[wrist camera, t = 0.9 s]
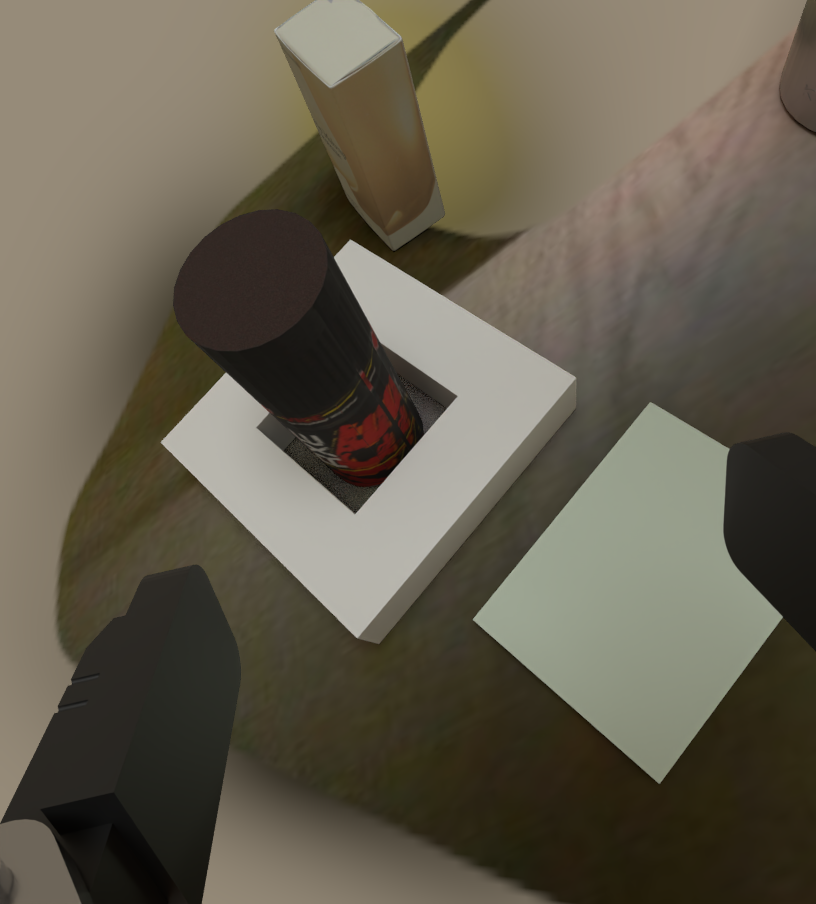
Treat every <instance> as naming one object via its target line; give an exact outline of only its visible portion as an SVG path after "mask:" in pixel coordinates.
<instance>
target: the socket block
mask: <svg viewBox="0 0 816 904" xmlns="http://www.w3.org/2000/svg"><path fill="white" fill-rule="evenodd" d="M334 259H335V261H336V262H337V264H338V266H339V268H340V270H341V272H342V273H343V275H344V277H345V279H346V281H347V283H348V284H349V286H350V288H351V290H352V292H353V294H354V295H355V297H356V299H357V301H358V303H359V305H360V306H361V308H362V310H363V312H364V314H365V316H366V317H367V319H368V321H369V323H370V325H371V327H372V328H373V330H374V332H375V334H376V336H377V338H378V339H379V341H380V343H381V345H382V347H383V349H384V350H385V352H386V354H387V356H388V358H389V360H390V361H391V363H392V365H393V367H394V369H395V371H396V372H397V373H398V374H399V375H401V376H402V377H403V378H405V379H406V380H408V381H409V382H410V383H412V384H413V385H415V386H416V387H417V388H419V389H420V390H422V391H423V392H424V393H426V394H427V395H429V396H430V397H431V398H433V399H434V400H436V401H437V402H439V403H440V404H441V405H443V406H444V407H446V408H447V409H446V410H445V412H444V413H443V414H442V415H441V416H440V417H439V419H438V420H437V421H436V422H435V423H434V424H433V425H432V427H431V428H430V429H429V430H428V431H427V432H426V434H425V435H424V436H423V437H422V438H421V439H420V440H419V442H418V443H417V444H416V445H415V446H414V447H413V448H412V450H411V451H410V452H409V453H408V454H407V455H406V457H405V458H404V459H403V460H402V461H401V462H400V463H399V465H398V466H397V467H396V468H395V469H394V470H393V472H392V473H391V474H390V475H389V476H388V477H387V478H386V480H385V481H384V482H383V483H382V484H381V485H380V487H379V488H378V489H377V490H376V491H375V492H374V493H373V495H372V496H371V497H370V498H369V499H368V500H367V501H366V503H365V504H364V505H363V506H362V507H361V508H360V510H359V511H358V512H357V513H356V514H355V513H354V512H353V511H352V510H351V509H349V508H348V507H347V506H346V505H345V504H344V503H343V502H341V501H340V500H339V499H338V498H337V497H336V496H335V495H334V494H332V493H331V492H330V491H329V490H328V489H327V488H326V487H324V486H323V485H322V484H321V483H320V482H319V481H318V480H316V479H315V478H314V477H313V476H312V475H311V474H310V473H308V472H307V471H306V470H305V469H304V468H303V467H302V466H300V465H299V464H298V463H297V462H296V461H295V460H294V459H292V458H291V457H290V456H289V455H288V454H287V453H286V452H284V450H285V449H286V448H287V446H288V445H289V444H290V443H291V442H292V441H293V440H294V439H295V438H296V437H295V436H294V435H293V434H292V433H291V432H290V431H289V430H288V429H287V428H285V427H284V426H283V425H282V424H281V423H280V422H279V421H278V420H277V419H276V418H275V417H274V416H273V415H271V414H270V413H269V412H268V411H267V410H266V409H265V408H264V407H263V406H262V405H261V404H260V403H259V402H257V401H256V400H255V399H254V398H253V397H252V396H251V395H250V394H249V393H248V392H247V391H246V390H245V389H243V388H242V387H241V386H240V385H239V384H238V383H237V382H236V381H235V380H234V379H233V378H232V377H231V376H229V375H228V374H227V373H225V374H224V375H223V376H222V377H221V379H220V380H219V381H218V382H217V383H216V384H215V385H214V386H213V387H212V388H211V389H210V390H209V391H208V392H207V394H206V395H205V396H204V397H203V398H202V399H201V400H200V401H199V402H198V403H197V404H196V405H195V406H194V407H193V408H192V410H191V411H190V412H189V413H188V414H187V415H186V416H185V417H184V418H183V419H182V420H181V421H180V422H179V423H178V425H177V426H176V427H175V428H174V429H173V430H172V431H171V432H170V433H169V434H168V435H167V436H166V437H165V438H164V439H163V441H162V442H161V443H162V444H163V445H164V446H165V447H166V448H167V449H168V450H169V451H170V452H171V453H172V454H173V455H174V456H175V457H176V458H177V459H178V460H179V461H180V462H181V463H182V464H183V465H184V466H185V467H186V468H187V469H188V470H189V471H190V472H191V473H192V474H193V475H194V476H195V477H196V478H197V479H198V480H199V481H200V482H201V483H202V484H203V485H204V486H205V487H206V488H207V489H208V490H209V491H210V492H211V493H212V494H213V495H214V496H215V497H216V498H217V499H218V500H219V501H220V502H221V503H222V504H223V505H224V506H225V507H226V508H227V509H228V510H229V511H230V512H231V513H232V514H233V515H234V516H235V517H236V518H237V519H238V520H239V521H240V522H241V523H242V524H243V525H244V526H245V527H246V528H247V529H248V530H249V531H250V532H251V533H252V534H253V535H254V536H255V537H256V538H257V539H258V540H259V541H260V542H261V543H262V544H263V545H264V546H265V547H266V548H267V549H268V550H269V551H270V552H271V553H272V554H273V555H274V556H275V557H276V558H277V559H278V560H279V561H280V562H281V563H282V564H283V565H284V566H285V567H286V568H287V569H288V570H289V571H290V572H291V573H292V574H293V575H294V576H295V577H296V578H297V579H298V580H299V581H300V582H301V583H302V584H303V585H304V586H305V587H306V588H307V589H308V590H309V591H310V592H311V593H312V594H313V595H314V596H315V597H316V598H317V599H318V600H319V601H320V602H321V603H322V604H323V605H324V606H325V607H326V608H327V609H328V610H329V611H330V612H331V613H332V614H333V615H334V616H335V617H336V618H337V619H338V620H339V621H340V622H341V623H342V624H343V625H344V626H345V627H346V628H347V629H348V630H349V631H350V632H351V633H352V634H353V635H354V636H355V637H356V638H357V639H361V640H365V641H369V642H373V643H377V644H380V643H381V641H382V640H383V639H384V638H385V637H386V635H387V634H388V633H389V632H390V631H391V629H392V628H393V627H394V626H395V625H396V623H397V622H398V621H399V620H400V619H401V617H402V616H403V615H404V614H405V613H406V611H407V610H408V609H409V608H410V607H411V605H412V604H413V603H414V602H415V601H416V599H417V598H418V597H419V596H420V595H421V593H422V592H423V591H424V590H425V589H426V587H427V586H428V585H429V584H430V583H431V581H432V580H433V579H434V578H435V577H436V575H437V574H438V573H439V572H440V571H441V569H442V568H443V567H444V566H445V565H446V563H447V562H448V561H449V560H450V559H451V557H452V556H453V555H454V554H455V553H456V551H457V550H458V549H459V548H460V547H461V545H462V544H463V543H464V542H465V541H466V539H467V538H468V537H469V536H470V535H471V533H472V532H473V531H474V530H475V529H476V527H477V526H478V525H479V524H480V523H481V521H482V520H483V519H484V518H485V517H486V515H487V514H488V513H489V512H490V511H491V509H492V508H493V507H494V506H495V505H496V503H497V502H498V501H499V500H500V499H501V497H502V496H503V495H504V494H505V493H506V491H507V490H508V489H509V488H510V487H511V485H512V484H513V483H514V482H515V481H516V479H517V478H518V477H519V476H520V475H521V473H522V472H523V471H524V470H525V469H526V467H527V466H528V465H529V464H530V463H531V461H532V460H533V459H534V458H535V457H536V455H537V454H538V453H539V452H540V451H541V449H542V448H543V447H544V446H545V445H546V443H547V442H548V441H549V440H550V439H551V437H552V436H553V435H554V434H555V433H556V431H557V430H558V429H559V428H560V427H561V426H562V424H563V423H564V422H565V421H566V420H567V418H568V417H569V416H570V415H571V414H572V412H573V411H574V410H575V409H576V377H574V376H573V375H571V374H569V373H568V372H566V371H565V370H563V369H561V368H560V367H558V366H556V365H555V364H553V363H551V362H550V361H548V360H547V359H545V358H543V357H542V356H540V355H538V354H537V353H535V352H533V351H532V350H530V349H529V348H527V347H525V346H524V345H522V344H520V343H519V342H517V341H516V340H514V339H512V338H511V337H509V336H507V335H506V334H504V333H502V332H501V331H499V330H498V329H496V328H494V327H493V326H491V325H489V324H488V323H486V322H484V321H483V320H481V319H480V318H478V317H476V316H475V315H473V314H471V313H470V312H468V311H466V310H465V309H463V308H462V307H460V306H458V305H457V304H455V303H453V302H452V301H450V300H448V299H447V298H445V297H444V296H442V295H440V294H439V293H437V292H435V291H434V290H432V289H430V288H429V287H427V286H426V285H424V284H422V283H421V282H419V281H417V280H416V279H414V278H412V277H411V276H409V275H408V274H406V273H404V272H403V271H401V270H399V269H398V268H396V267H394V266H393V265H391V264H390V263H388V262H386V261H385V260H383V259H381V258H380V257H378V256H376V255H375V254H373V253H372V252H370V251H368V250H367V249H365V248H363V247H362V246H360V245H358V244H357V243H355V242H354V241H352V240H350V241H349V242H348V243H347V244H346V245H345V246H344V247H343V248H342V249H341V250H340V251H339V252H338V253H337V255H336V256H335V257H334Z"/></svg>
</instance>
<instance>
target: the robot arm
mask: <svg viewBox="0 0 816 904" xmlns="http://www.w3.org/2000/svg"><path fill="white" fill-rule="evenodd" d="M780 93H781V99H782V101H783V103H784V105H785V107H786V109H787V110H788V112H789V113H790V114H791V115H792V116H793V117H794V118H795V120H797V121H798V122H799V123H801V124H802V125H804V126H805V127H806V128H808V129H810V130H812V131H814V132H816V0H807V2H806V5H805V8H804V10H803V13H802V16H801V19H800V22H799V25H798V28H797V31H796V34H795V37H794V40H793V43H792V46H791V49H790V51H789V54H788V57H787V60H786V63H785V66H784V69H783V72H782V76H781V81H780ZM723 534H724V540H725V544H726V548H727V550H728V553H729V555H730V557H731V559H732V561H733V563H734V564H735V566H736V567H737V569H738V570H739V571H740V572H741V573H742V574H743V575H744V576H745V577H746V579H747V580H748V581H749V582H750V583H751V584H752V585H753V586H754V587H755V588H756V589H757V590H758V591H759V592H760V593H761V594H762V595H763V596H764V597H765V598H766V600H767V601H768V602H769V603H770V604H771V605H772V606H773V607H774V608H775V609H776V610H777V611H778V612H779V613H780V614H781V615H782V616H783V617H784V618H785V620H786V621H787V622H788V623H789V624H790V625H791V626H792V627H793V628H794V629H795V630H796V631H797V632H798V633H799V634H800V635H801V636H802V637H803V638H804V640H805V641H806V642H807V643H808V644H809V645H810V646H811V647H812V648H813V649H814V650H815V651H816V447H814V446H813V445H811V444H810V443H808V442H806V441H805V440H803V439H802V438H800V437H798V436H797V435H795V434H793V433H781V434H776V435H772V436H767V437H763V438H759V439H754V440H750V441H745V442H741V443H737V444H734V445H733V446H732V447H731V448H730V450H729V452H728V456H727V465H726V484H725V504H724V523H723ZM240 680H241V665H240V657H239V651H238V647H237V644H236V641H235V638H234V636H233V633H232V631H231V629H230V627H229V624H228V622H227V620H226V618H225V615H224V613H223V611H222V608H221V606H220V604H219V602H218V599H217V597H216V595H215V593H214V590H213V588H212V586H211V584H210V581H209V579H208V577H207V575H206V573H205V571H204V570H203V569H202V568H201V567H200V566H199V565H192V566H187V567H183V568H178V569H174V570H169V571H165V572H161V573H156V574H152V575H147V576H145V577H144V578H143V579H142V580H141V582H140V584H139V586H138V589H137V591H136V593H135V595H134V598H133V600H132V602H131V604H130V607H129V609H128V611H127V613H126V616H122V617H117V618H114V619H113V620H112V621H111V622H110V623H109V624H108V625H107V626H106V627H105V628H104V629H103V631H102V632H101V633H100V634H99V635H98V636H97V637H96V638H95V639H94V640H93V641H92V643H91V644H90V645H89V646H88V647H87V648H86V650H85V652H84V654H83V656H82V658H81V660H80V662H79V664H78V666H77V668H76V670H75V672H74V674H73V677H72V679H71V681H72V685H70V686H68V687H67V689H66V691H65V693H64V695H63V697H62V699H61V701H60V703H59V705H58V709H59V711H58V713H55V714H54V715H53V717H52V719H51V721H50V723H49V725H48V727H47V729H46V731H45V733H44V735H43V737H42V740H41V741H40V743H39V746H38V748H37V750H36V752H35V754H34V756H33V758H32V760H31V762H30V764H29V766H28V768H27V770H26V772H25V774H24V776H23V778H22V780H21V782H20V784H19V786H18V788H17V790H16V792H15V794H14V796H13V798H12V801H11V802H10V805H9V806H8V808H7V811H6V813H5V815H4V817H3V819H2V821H1V823H0V904H202V898H203V893H204V887H205V881H206V876H207V870H208V864H209V858H210V853H211V847H212V841H213V836H214V830H215V824H216V818H217V813H218V806H219V801H220V795H221V790H222V784H223V778H224V773H225V767H226V761H227V755H228V750H229V744H230V738H231V732H232V727H233V721H234V715H235V710H236V704H237V698H238V692H239V687H240Z"/></svg>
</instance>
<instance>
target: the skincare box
mask: <svg viewBox="0 0 816 904" xmlns="http://www.w3.org/2000/svg"><path fill="white" fill-rule="evenodd" d="M274 31H275V34H276V37H277V39H278V41H279V43H280V45H281V47H282V50H283V52H284V54H285V56H286V58H287V61H288V63H289V65H290V68H291V70H292V72H293V74H294V77H295V79H296V81H297V83H298V86H299V88H300V90H301V92H302V95H303V97H304V99H305V102H306V104H307V106H308V109H309V111H310V113H311V115H312V118H313V120H314V122H315V125H316V127H317V129H318V132H319V134H320V136H321V138H322V141H323V143H324V145H325V147H326V150H327V152H328V154H329V156H330V159H331V161H332V163H333V166H334V168H335V170H336V172H337V175H338V177H339V179H340V182H341V184H342V186H343V189H344V191H345V193H346V196H347V198H348V200H349V201H350V203H351V204H352V205H353V207H354V208H355V209H356V210H357V212H358V213H359V214H360V215H361V216H362V218H363V219H364V220H365V221H366V222H367V224H368V225H369V226H370V227H371V228H372V229H373V230H374V231H375V232H376V233H377V235H378V236H379V237H380V238H381V239H382V240H383V241H384V242H385V243H386V244H387V245H388V246H389V247H390V248H391V249H392V250H393V251H395V250H397V249H398V248H399V247H401V246H402V245H404V244H405V243H407V242H408V241H410V240H411V239H413V238H414V237H416V236H417V235H419V234H420V233H422V232H423V231H424V230H426V229H427V228H429V227H430V226H431V225H433V224H434V223H436V222H437V221H438V220H440V219H441V218H443V217H444V215H445V212H444V207H443V203H442V199H441V195H440V191H439V187H438V183H437V179H436V175H435V171H434V167H433V163H432V159H431V154H430V151H429V146H428V142H427V138H426V134H425V130H424V126H423V121H422V118H421V113H420V109H419V105H418V101H417V97H416V93H415V89H414V85H413V81H412V77H411V72H410V68H409V64H408V60H407V56H406V52H405V48H404V44H403V40H402V37H401V36H400V35H399V34H398V33H396V32H395V31H394V30H393V29H392V28H391V27H390V26H388V25H387V24H386V23H385V22H384V21H383V20H381V19H380V18H379V17H378V16H377V15H376V14H375V13H374V12H373V11H372V10H371V9H370V8H368V7H367V6H366V5H364V4H363V3H362V2H361V1H359V0H315V1H314V2H312V3H311V4H309V5H308V6H307V7H305V8H304V9H302V10H301V11H299V12H298V13H297V14H295V15H294V16H292V17H291V18H289V19H288V20H287V21H286V22H285V23H283V24H282V25H280V26H279V27H277V28H276V29H275V30H274Z"/></svg>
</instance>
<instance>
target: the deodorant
mask: <svg viewBox="0 0 816 904" xmlns="http://www.w3.org/2000/svg"><path fill="white" fill-rule="evenodd" d="M173 306H174V311H175V315H176V319H177V322H178V323H179V325H180V327H181V328H182V330H183V331H184V333H185V334H186V336H187V337H189V338H190V339H191V340H192V341H193V342H194V343H195V344H196V345H197V346H198V347H199V348H200V349H201V350H203V351H204V352H205V353H206V354H207V355H208V356H209V357H210V358H211V359H212V360H213V361H214V362H215V363H217V364H218V365H219V366H220V367H221V368H222V369H223V370H224V371H225V372H226V373H227V374H228V375H229V376H231V377H232V378H233V379H234V380H235V381H236V382H237V383H238V384H239V385H240V386H241V387H242V388H243V389H245V390H246V391H247V392H248V393H249V394H250V395H251V396H252V397H253V398H254V399H255V400H256V401H257V402H259V403H260V404H261V405H262V406H263V407H264V408H265V409H266V410H267V411H268V412H269V413H270V414H271V415H273V416H274V417H275V418H276V419H277V420H278V421H279V422H280V423H281V424H282V425H283V426H284V427H285V428H287V429H288V430H289V431H290V432H291V433H292V434H293V435H294V436H295V437H296V438H297V439H298V440H299V441H301V442H302V443H303V444H304V445H305V446H306V447H307V448H308V449H309V450H310V451H311V452H312V453H313V454H315V455H316V456H317V457H318V458H319V459H320V460H321V461H322V462H323V463H324V464H325V465H326V466H327V467H329V468H330V469H331V470H332V471H333V472H334V473H335V474H336V475H337V476H339V477H340V478H341V479H343V480H344V481H345V482H347V483H350V484H353V485H355V486H360V487H375V486H380V485H381V484H382V483H383V482H384V481H385V480H386V478H387V477H388V476H389V475H390V474H391V473H392V472H393V470H394V469H395V468H396V467H397V466H398V465H399V463H400V462H401V461H402V460H403V459H404V458H405V457H406V455H407V454H408V453H409V452H410V451H411V450H412V448H413V447H414V446H415V445H416V444H417V443H418V442H419V440H420V439H421V438H422V437H423V436H424V433H423V424H422V420H421V418H420V416H419V413H418V411H417V409H416V407H415V405H414V404H413V402H412V400H411V398H410V396H409V394H408V393H407V391H406V389H405V387H404V385H403V383H402V382H401V380H400V378H399V376H398V374H397V372H396V371H395V369H394V367H393V365H392V363H391V361H390V360H389V358H388V356H387V354H386V352H385V350H384V349H383V347H382V345H381V343H380V341H379V339H378V338H377V336H376V334H375V332H374V330H373V328H372V327H371V325H370V323H369V321H368V319H367V317H366V316H365V314H364V312H363V310H362V308H361V306H360V305H359V303H358V301H357V299H356V297H355V295H354V294H353V292H352V290H351V288H350V286H349V284H348V283H347V281H346V279H345V277H344V275H343V273H342V272H341V270H340V268H339V266H338V264H337V262H336V261H335V259H334V257H333V255H332V253H331V251H330V250H329V248H328V246H327V244H326V242H325V240H324V239H323V237H322V235H321V233H320V232H319V231H318V230H317V229H316V228H315V227H314V225H313V224H312V223H311V222H310V221H308V220H307V219H305V218H303V217H301V216H299V215H298V214H296V213H292V212H288V211H283V210H278V209H276V210H258V211H255V212H251V213H247V214H243V215H240V216H238V217H236V218H234V219H232V220H230V221H228V222H226V223H224V224H222V225H220V226H219V227H217V228H216V229H215V230H213V231H212V232H211V233H209V234H208V235H207V236H205V237H204V238H203V239H202V241H201V242H200V243H199V244H198V245H197V246H196V247H195V248H194V249H193V250H192V252H191V253H190V254H189V256H188V258H187V259H186V261H185V263H184V264H183V266H182V268H181V269H180V272H179V275H178V278H177V281H176V284H175V287H174V301H173Z"/></svg>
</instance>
